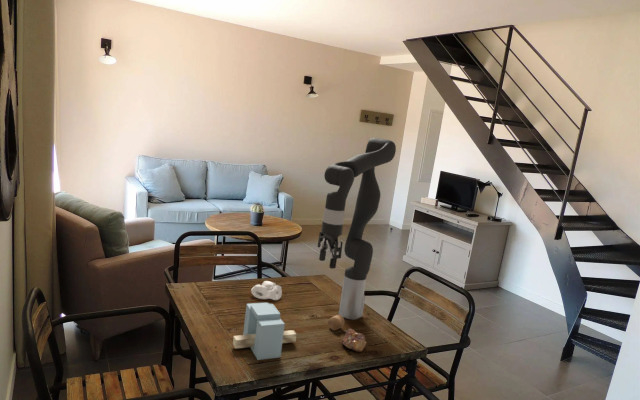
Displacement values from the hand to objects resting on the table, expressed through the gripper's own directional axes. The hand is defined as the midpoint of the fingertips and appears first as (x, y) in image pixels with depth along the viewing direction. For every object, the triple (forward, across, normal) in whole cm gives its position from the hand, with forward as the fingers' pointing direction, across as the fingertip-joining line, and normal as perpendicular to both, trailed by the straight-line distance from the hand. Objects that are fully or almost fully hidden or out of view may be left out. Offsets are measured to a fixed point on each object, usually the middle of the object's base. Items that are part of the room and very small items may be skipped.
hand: (327, 264), depth 163 cm
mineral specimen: (+28, -10, -10) cm, 32 cm away
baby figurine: (+28, +36, +7) cm, 47 cm away
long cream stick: (+27, -3, +22) cm, 35 cm away
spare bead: (+28, +4, -10) cm, 30 cm away
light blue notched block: (+28, -3, +23) cm, 36 cm away
